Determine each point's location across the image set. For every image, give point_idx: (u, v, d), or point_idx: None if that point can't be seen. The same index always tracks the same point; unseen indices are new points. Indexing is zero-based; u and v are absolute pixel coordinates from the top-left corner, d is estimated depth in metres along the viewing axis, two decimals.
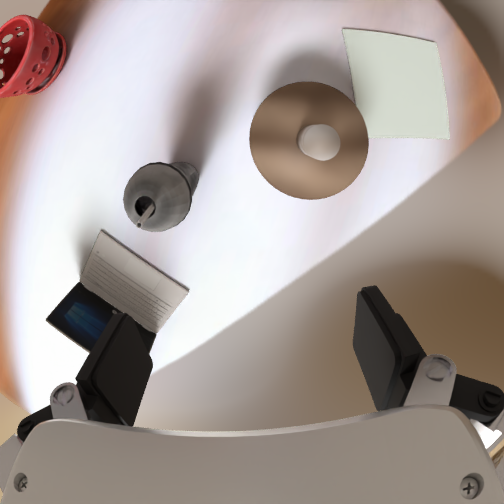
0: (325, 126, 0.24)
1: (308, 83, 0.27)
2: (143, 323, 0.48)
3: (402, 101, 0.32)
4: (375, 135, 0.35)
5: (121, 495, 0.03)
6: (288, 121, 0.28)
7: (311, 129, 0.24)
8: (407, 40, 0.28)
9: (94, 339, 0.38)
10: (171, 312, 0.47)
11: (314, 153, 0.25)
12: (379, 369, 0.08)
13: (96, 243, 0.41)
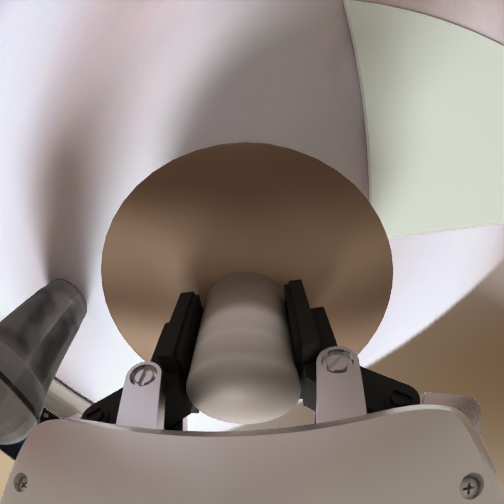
0: (251, 363, 0.07)
1: (234, 149, 0.10)
2: None
3: (458, 158, 0.15)
4: (402, 231, 0.18)
5: (121, 495, 0.03)
6: (182, 265, 0.12)
7: (203, 371, 0.07)
8: (467, 36, 0.11)
9: None
10: None
11: (221, 413, 0.08)
12: None
13: None
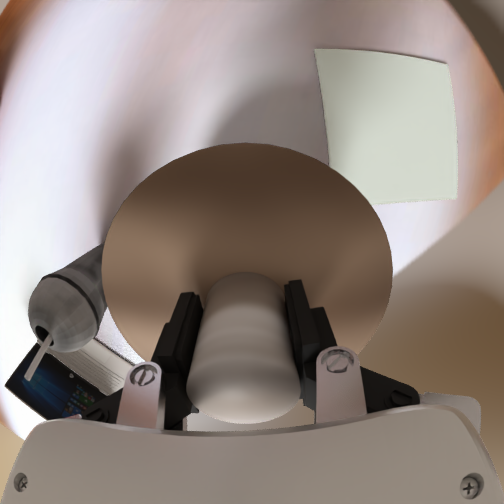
0: (251, 363, 0.07)
1: (234, 150, 0.10)
2: (100, 387, 0.41)
3: (397, 152, 0.26)
4: None
5: (121, 495, 0.03)
6: (182, 265, 0.12)
7: (203, 370, 0.07)
8: (408, 62, 0.21)
9: (51, 405, 0.31)
10: None
11: (221, 413, 0.08)
12: None
13: None
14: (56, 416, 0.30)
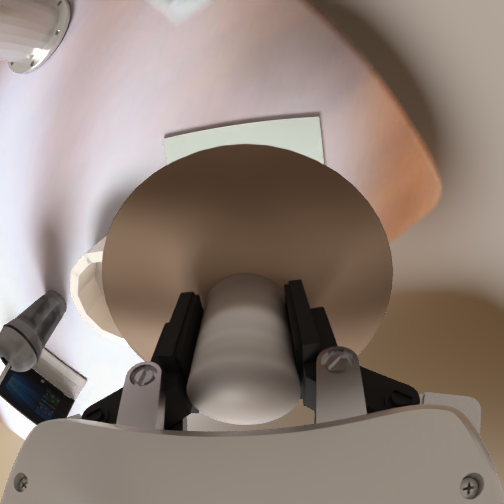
0: (251, 364, 0.07)
1: (234, 151, 0.10)
2: (64, 391, 0.48)
3: None
4: None
5: (121, 495, 0.03)
6: (182, 266, 0.12)
7: (203, 372, 0.07)
8: (262, 128, 0.27)
9: (26, 404, 0.38)
10: (80, 390, 0.47)
11: (221, 414, 0.08)
12: None
13: None
14: (30, 412, 0.37)
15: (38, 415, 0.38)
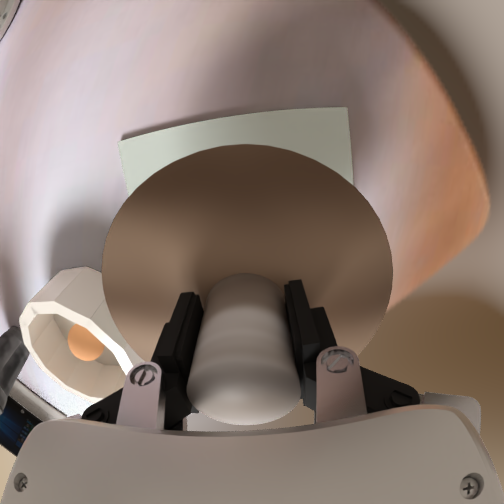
0: (251, 365, 0.07)
1: (234, 151, 0.10)
2: None
3: None
4: None
5: (121, 495, 0.03)
6: (182, 266, 0.12)
7: (203, 372, 0.07)
8: (263, 122, 0.18)
9: (7, 436, 0.28)
10: None
11: (221, 414, 0.08)
12: None
13: None
14: (11, 445, 0.27)
15: (19, 449, 0.28)
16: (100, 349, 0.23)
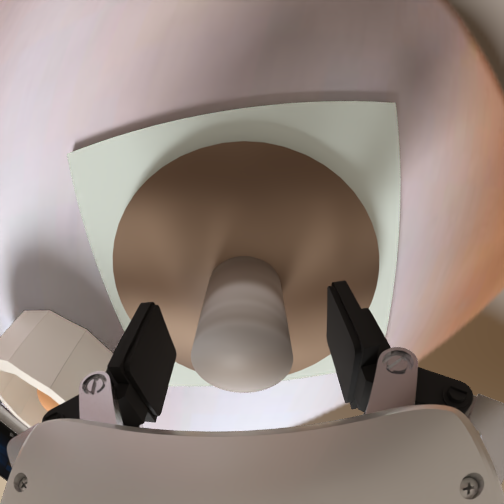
0: (248, 328, 0.09)
1: (234, 147, 0.11)
2: None
3: None
4: (181, 383, 0.18)
5: (121, 495, 0.03)
6: (187, 250, 0.13)
7: (206, 336, 0.09)
8: (274, 120, 0.12)
9: None
10: None
11: (221, 381, 0.10)
12: (344, 361, 0.09)
13: None
14: (1, 469, 0.21)
15: None
16: None
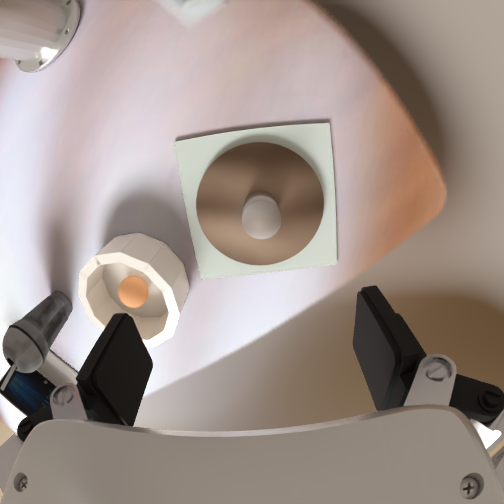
0: (264, 203, 0.25)
1: (257, 144, 0.27)
2: None
3: None
4: (220, 275, 0.35)
5: (121, 495, 0.03)
6: (235, 187, 0.29)
7: (249, 207, 0.25)
8: (273, 133, 0.28)
9: (29, 404, 0.38)
10: None
11: (252, 232, 0.26)
12: (379, 369, 0.08)
13: None
14: (32, 412, 0.37)
15: None
16: (145, 296, 0.33)
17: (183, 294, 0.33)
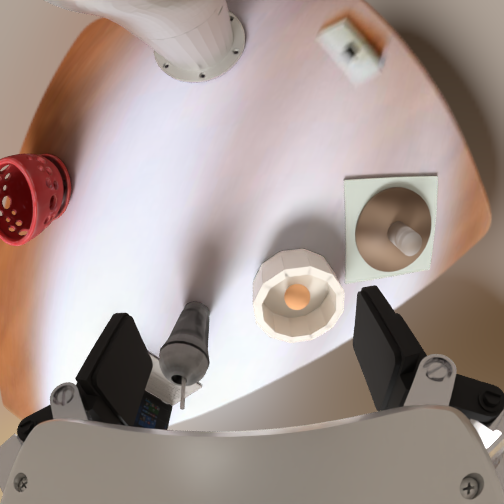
0: (415, 234, 0.34)
1: (401, 189, 0.37)
2: (162, 398, 0.58)
3: None
4: (359, 279, 0.44)
5: (121, 495, 0.03)
6: (384, 218, 0.39)
7: (407, 236, 0.35)
8: (408, 181, 0.37)
9: None
10: (186, 396, 0.57)
11: (406, 251, 0.36)
12: (379, 369, 0.08)
13: None
14: (134, 425, 0.47)
15: (142, 427, 0.48)
16: (309, 300, 0.42)
17: None
